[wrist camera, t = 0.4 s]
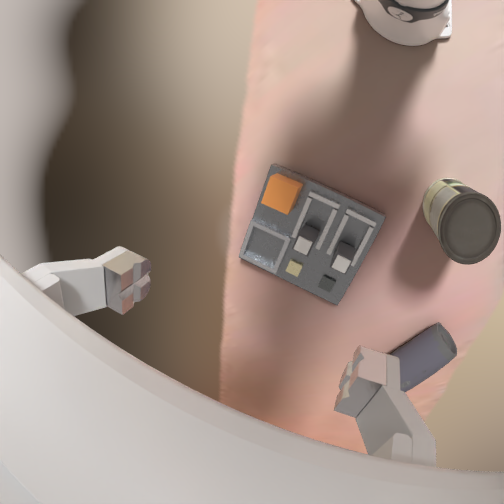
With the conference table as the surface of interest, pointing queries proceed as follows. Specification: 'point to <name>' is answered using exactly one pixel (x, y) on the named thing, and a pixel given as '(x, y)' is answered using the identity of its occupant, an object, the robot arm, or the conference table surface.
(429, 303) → the conference table surface
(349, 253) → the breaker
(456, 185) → the coffee can
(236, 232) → the conference table surface
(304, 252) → the block
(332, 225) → the panel
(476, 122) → the conference table surface
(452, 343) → the bluetooth speaker
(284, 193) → the orange block
